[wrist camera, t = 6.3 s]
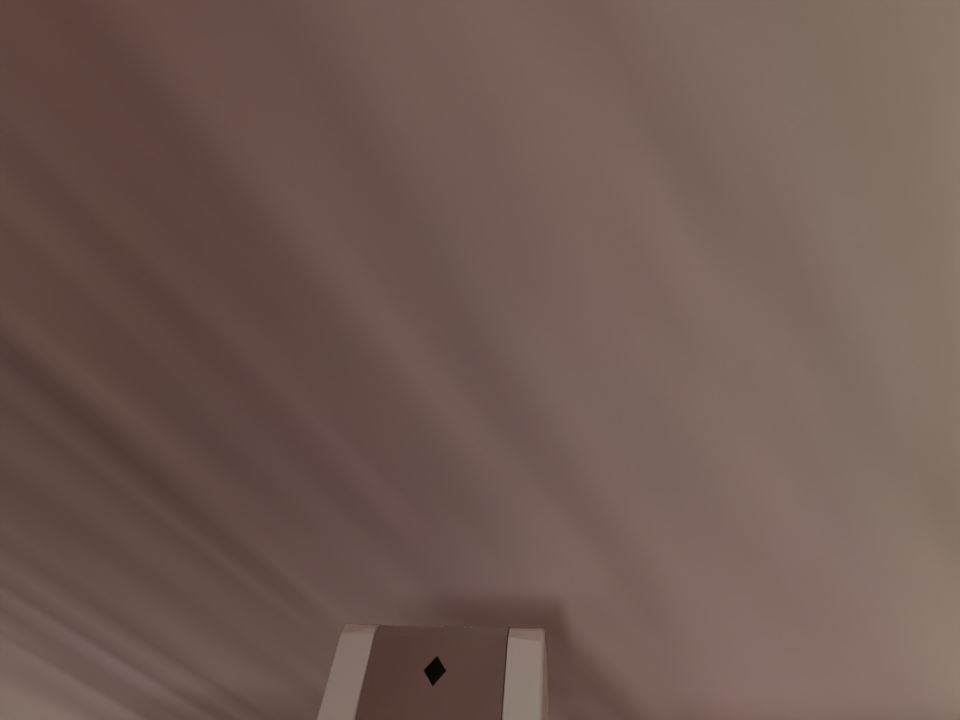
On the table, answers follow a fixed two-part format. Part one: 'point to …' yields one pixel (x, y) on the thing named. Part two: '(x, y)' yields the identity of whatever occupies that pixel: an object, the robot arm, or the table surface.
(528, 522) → the table surface
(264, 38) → the table surface
